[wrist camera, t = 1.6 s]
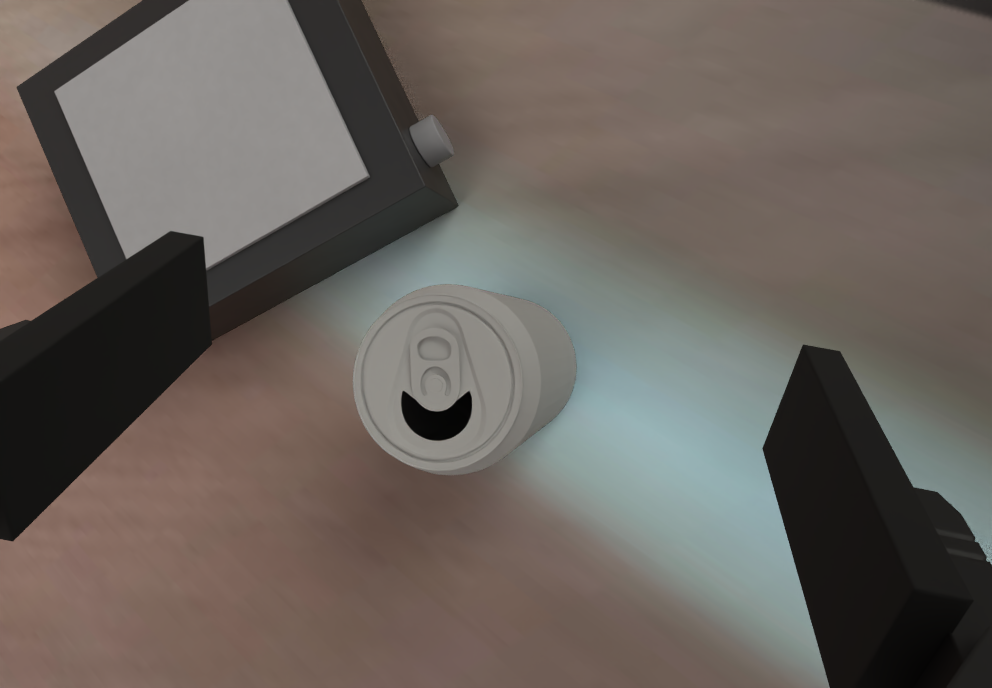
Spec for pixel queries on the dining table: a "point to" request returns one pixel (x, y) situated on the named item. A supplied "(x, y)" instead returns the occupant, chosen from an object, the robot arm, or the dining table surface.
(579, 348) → the dining table surface
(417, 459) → the beverage can
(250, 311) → the cup warmer
